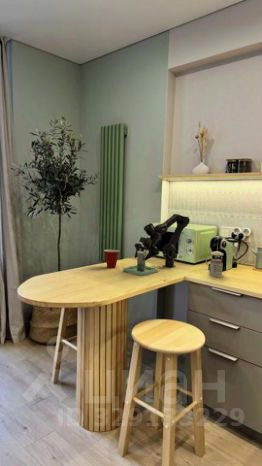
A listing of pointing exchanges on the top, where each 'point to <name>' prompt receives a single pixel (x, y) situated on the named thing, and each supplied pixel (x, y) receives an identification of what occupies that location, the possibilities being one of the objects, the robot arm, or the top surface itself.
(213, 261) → the french press
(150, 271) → the tray
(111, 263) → the plastic cup
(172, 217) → the robot arm
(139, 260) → the cylinder
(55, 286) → the top surface
